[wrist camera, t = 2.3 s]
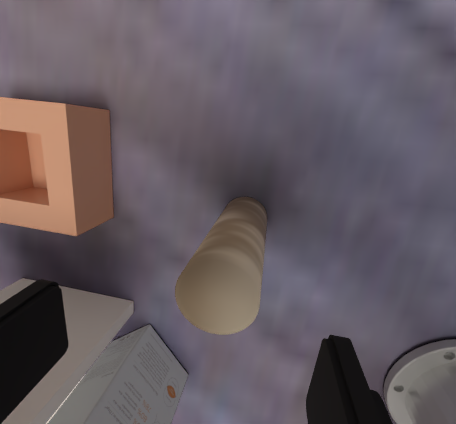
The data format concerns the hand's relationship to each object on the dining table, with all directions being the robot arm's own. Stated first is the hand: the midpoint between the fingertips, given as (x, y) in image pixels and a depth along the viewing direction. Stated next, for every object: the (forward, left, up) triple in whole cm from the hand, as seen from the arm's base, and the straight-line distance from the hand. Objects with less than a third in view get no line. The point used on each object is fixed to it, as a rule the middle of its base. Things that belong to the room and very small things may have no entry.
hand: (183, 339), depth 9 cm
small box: (+8, +19, -15) cm, 26 cm away
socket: (+17, -3, -15) cm, 23 cm away
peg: (-1, 0, -15) cm, 15 cm away
